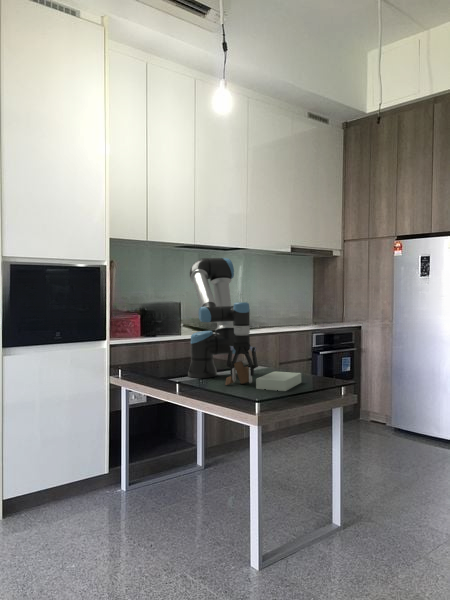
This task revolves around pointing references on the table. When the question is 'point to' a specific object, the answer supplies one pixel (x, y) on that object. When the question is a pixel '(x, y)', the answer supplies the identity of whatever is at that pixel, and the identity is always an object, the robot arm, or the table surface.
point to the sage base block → (278, 381)
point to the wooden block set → (239, 374)
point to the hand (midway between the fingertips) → (242, 382)
